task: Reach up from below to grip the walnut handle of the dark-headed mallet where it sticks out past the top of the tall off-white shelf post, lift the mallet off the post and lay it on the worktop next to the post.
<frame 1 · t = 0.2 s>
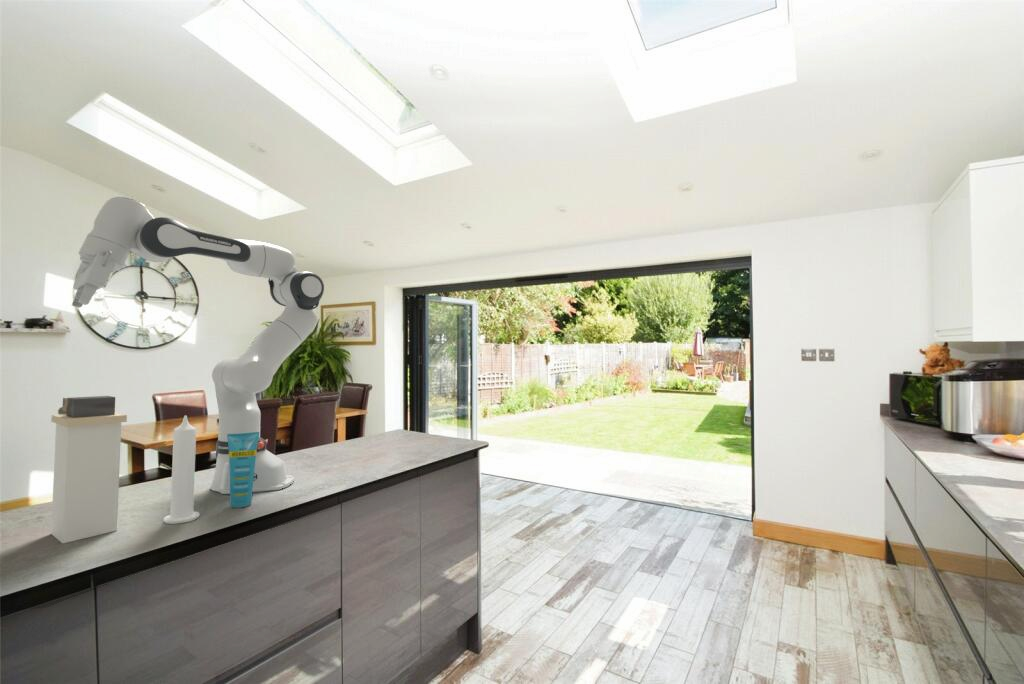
hand: (79, 305, 114), 52 cm above the table, tool tilted 20°, fingers open, 8 cm apart
candle: (181, 519, 112), on the table
tube: (241, 506, 123), on the table
shelf post: (84, 532, 103), on the table
mallet: (82, 413, 107), point 26 cm above the table, touching shelf post
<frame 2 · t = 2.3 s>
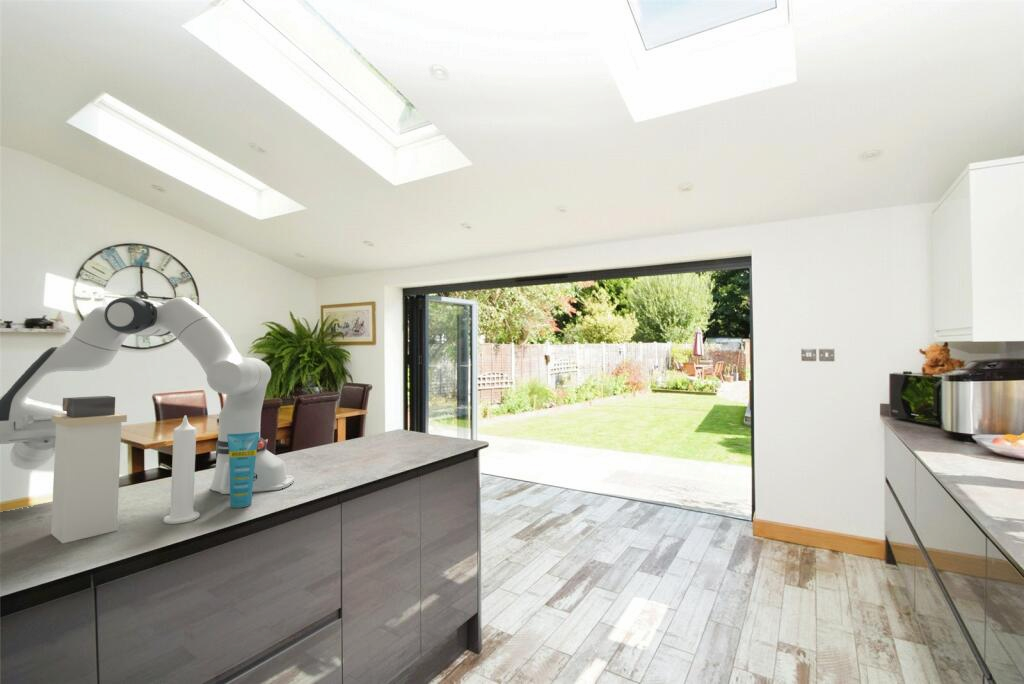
hand: (55, 415, 120), 24 cm above the table, tool pointing upward, fingers open, 8 cm apart
nothing on the table moved.
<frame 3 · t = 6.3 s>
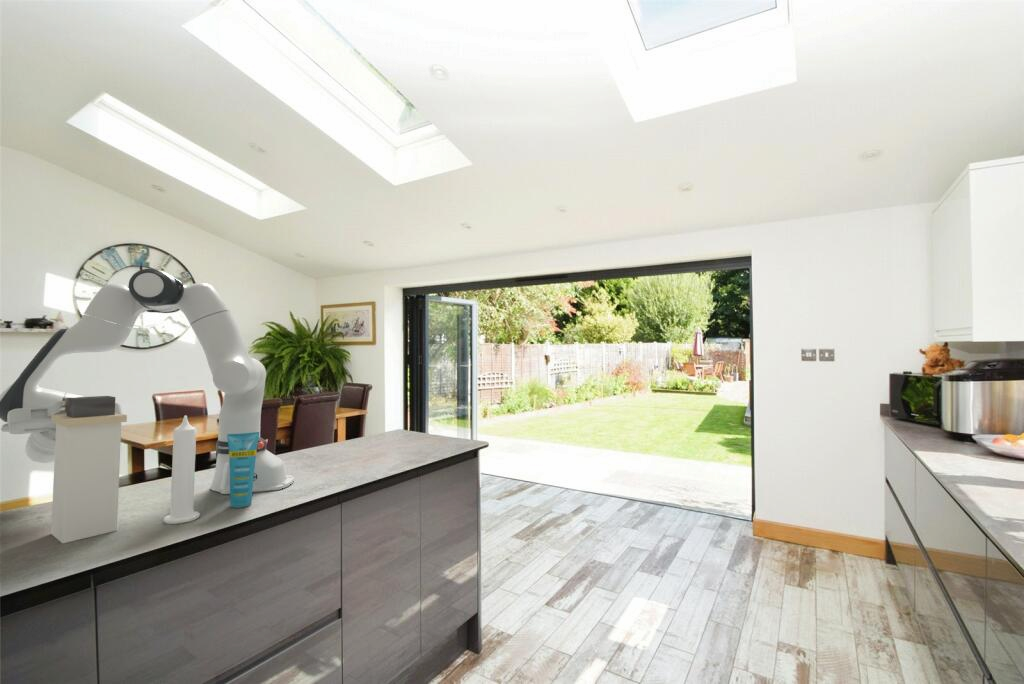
hand: (75, 403, 110), 28 cm above the table, tool pointing upward, fingers closed on mallet, 3 cm apart
mallet: (81, 413, 107), point 26 cm above the table, touching gripper, shelf post
everything else where it was.
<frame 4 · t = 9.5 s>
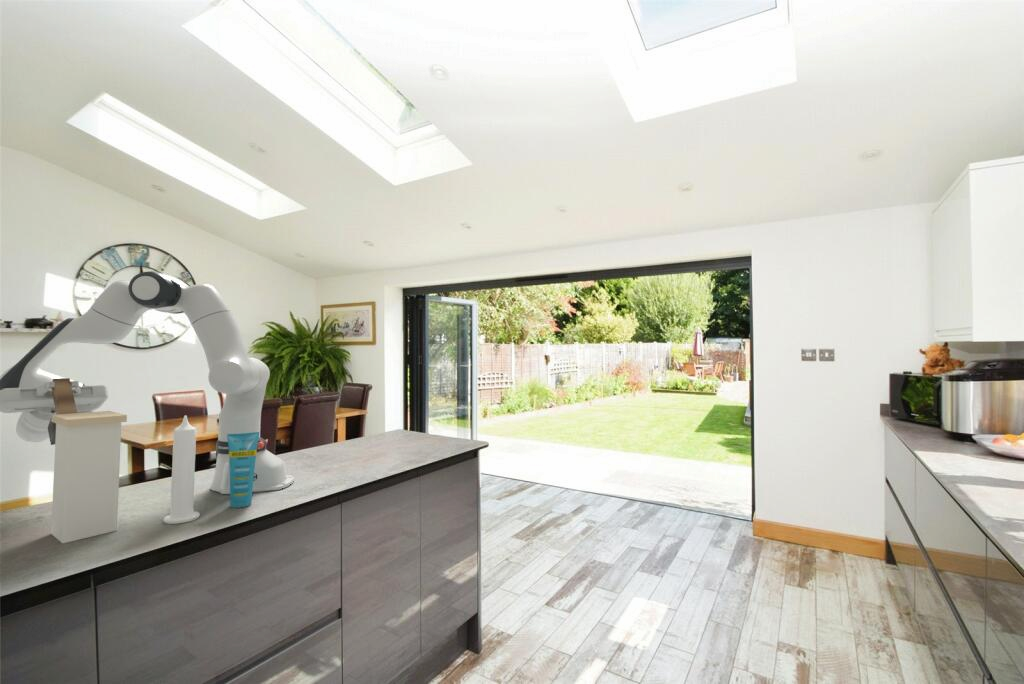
hand: (63, 383, 116), 32 cm above the table, tool pointing upward, fingers closed on mallet, 3 cm apart
mallet: (64, 413, 115), point 25 cm above the table, tilted 45°, touching gripper
everything else where it was.
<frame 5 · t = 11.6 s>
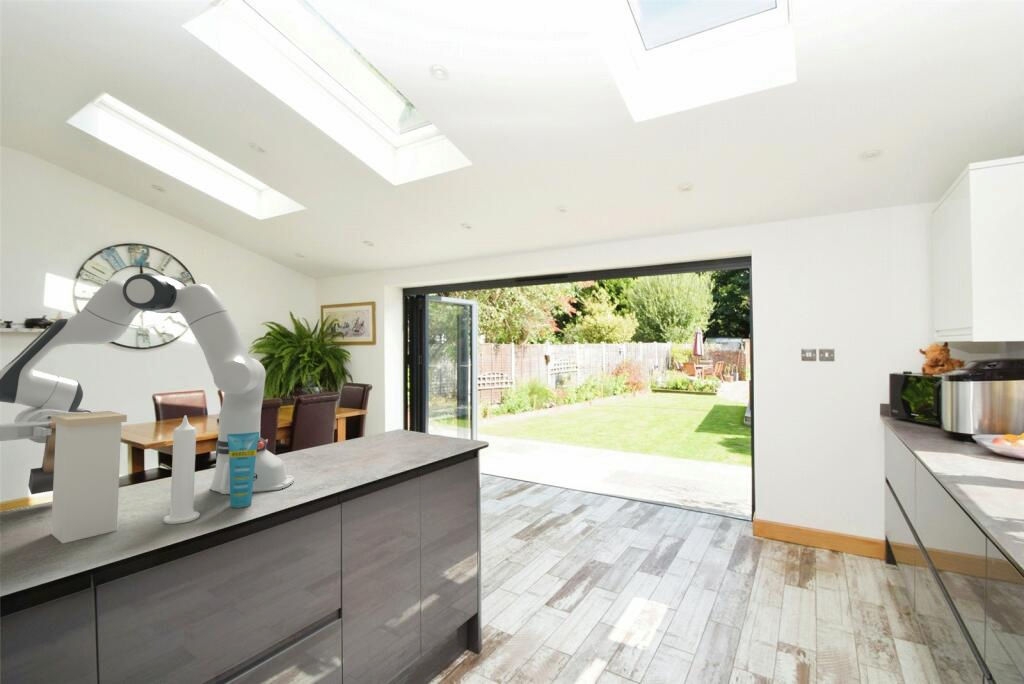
hand: (59, 431, 117), 20 cm above the table, tool horizontal, fingers closed on mallet, 3 cm apart
mallet: (52, 452, 121), point 14 cm above the table, tilted 113°, touching gripper
everything else where it was.
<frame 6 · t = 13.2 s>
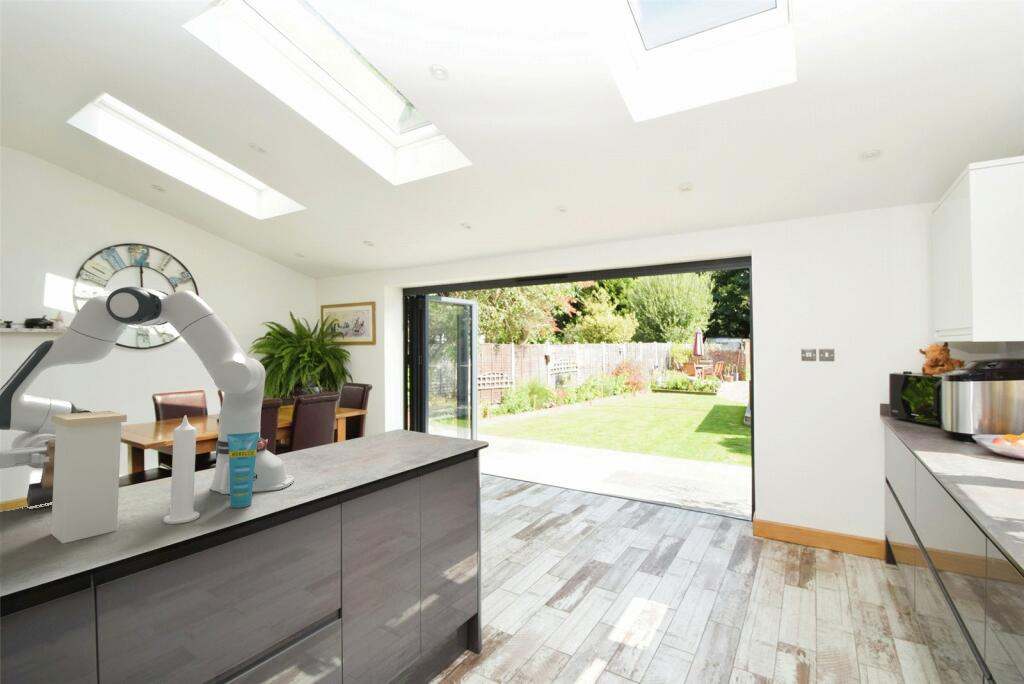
hand: (57, 457, 117), 13 cm above the table, tool horizontal, fingers closed on mallet, 3 cm apart
mallet: (50, 468, 120), point 10 cm above the table, tilted 118°, touching gripper
everything else where it was.
when the fingers open (12 cm above the table, at t = 13.8 s): mallet drops 6 cm and tips over, point 4 cm above the table.
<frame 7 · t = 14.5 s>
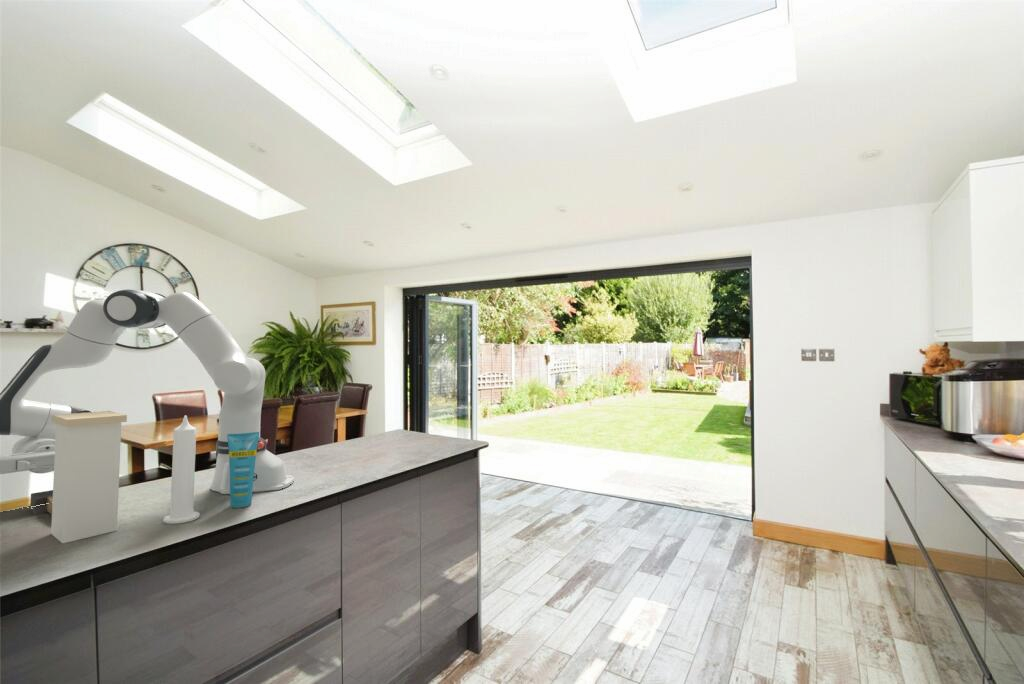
hand: (58, 463, 117), 12 cm above the table, tool horizontal, fingers open, 8 cm apart
mallet: (59, 499, 115), point 4 cm above the table, tilted 176°
everything else where it was.
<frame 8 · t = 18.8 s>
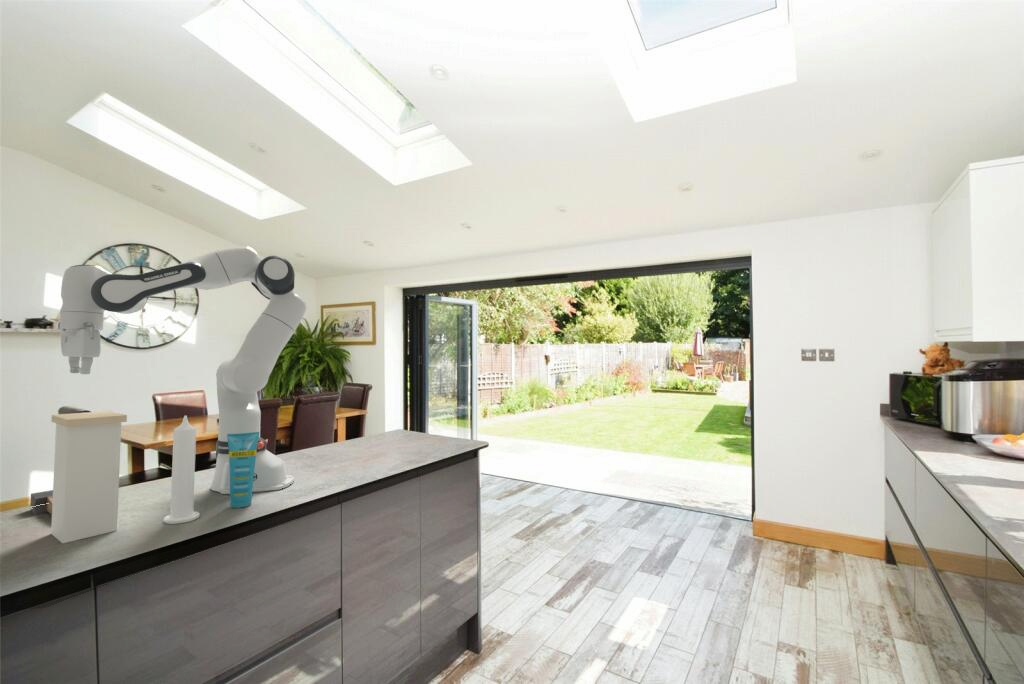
hand: (79, 373, 127), 34 cm above the table, tool pointing down, fingers open, 8 cm apart
nothing on the table moved.
at the end: mallet point 3.6 cm above the table; mallet touching table; the gripper is holding nothing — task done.
